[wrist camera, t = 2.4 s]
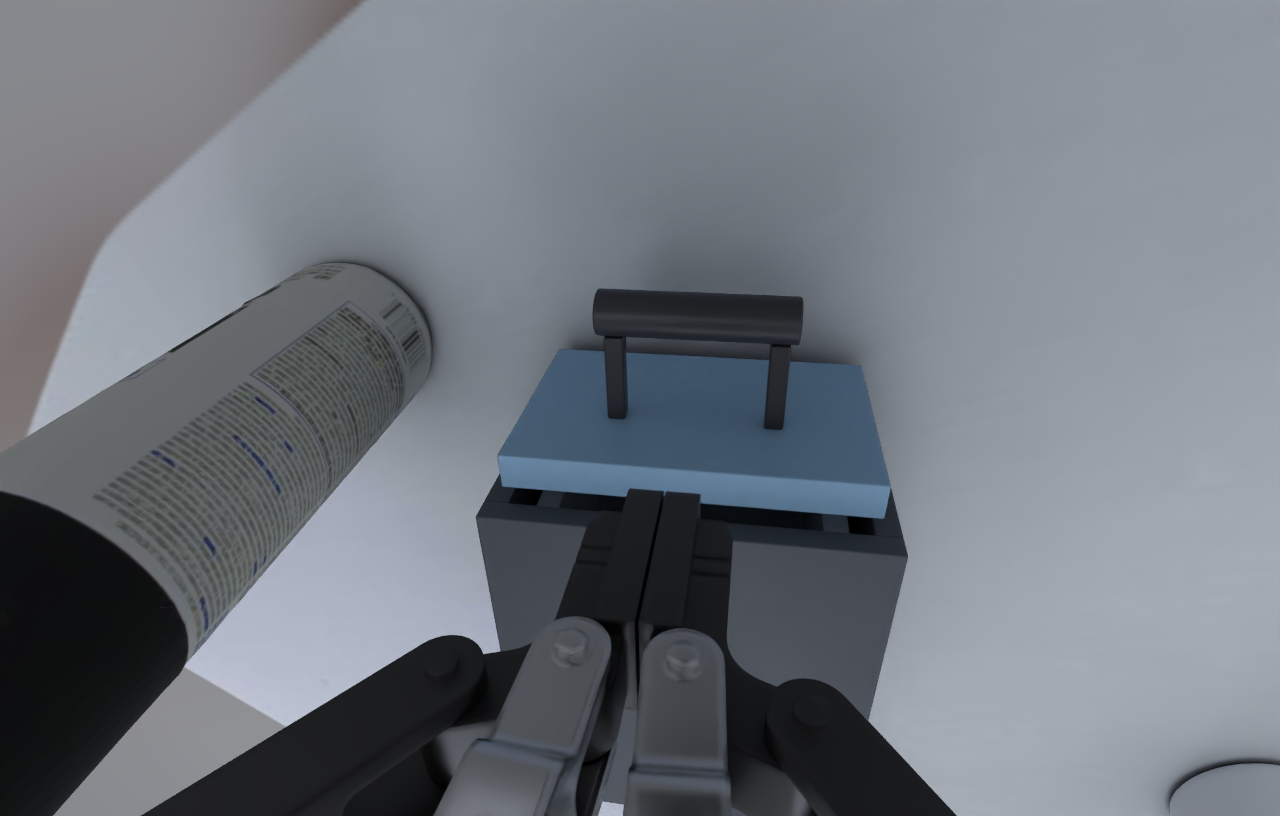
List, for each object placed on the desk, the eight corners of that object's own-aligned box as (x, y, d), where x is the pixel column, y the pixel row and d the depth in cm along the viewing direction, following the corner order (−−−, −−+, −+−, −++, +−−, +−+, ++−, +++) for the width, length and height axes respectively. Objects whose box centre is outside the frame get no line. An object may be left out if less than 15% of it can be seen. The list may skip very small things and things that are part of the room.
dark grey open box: (553, 375, 28) (474, 517, 21) (868, 393, 27) (908, 556, 19) (577, 620, 36) (526, 790, 28) (824, 647, 34) (840, 837, 27)
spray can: (298, 227, 27) (-497, 628, 10) (458, 301, 27) (-35, 799, 11) (278, 361, 30) (-332, 824, 14) (421, 424, 31) (6, 945, 14)
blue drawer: (549, 240, 25) (475, 323, 18) (880, 249, 23) (921, 345, 17) (581, 595, 34) (539, 730, 28) (819, 621, 32) (831, 771, 26)
